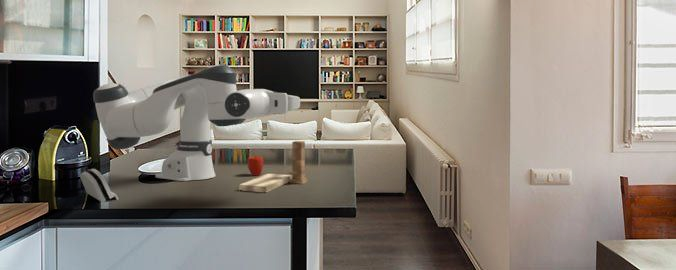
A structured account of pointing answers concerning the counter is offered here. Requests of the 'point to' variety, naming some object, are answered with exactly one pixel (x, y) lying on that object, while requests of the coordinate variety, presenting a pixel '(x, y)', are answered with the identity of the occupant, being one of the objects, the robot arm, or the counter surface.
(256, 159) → the apple
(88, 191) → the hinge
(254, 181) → the board
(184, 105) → the robot arm
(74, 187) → the counter surface
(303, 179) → the brown wooden block tower
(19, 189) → the counter surface
